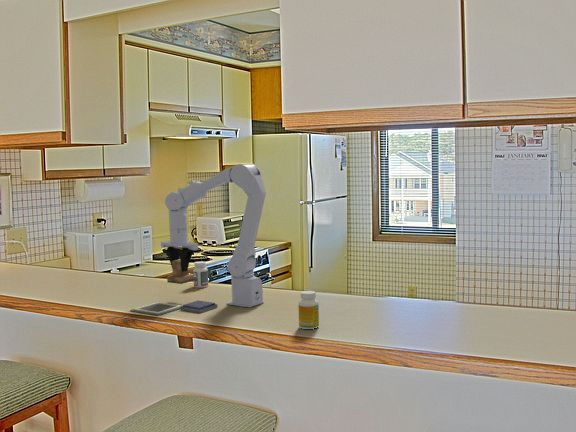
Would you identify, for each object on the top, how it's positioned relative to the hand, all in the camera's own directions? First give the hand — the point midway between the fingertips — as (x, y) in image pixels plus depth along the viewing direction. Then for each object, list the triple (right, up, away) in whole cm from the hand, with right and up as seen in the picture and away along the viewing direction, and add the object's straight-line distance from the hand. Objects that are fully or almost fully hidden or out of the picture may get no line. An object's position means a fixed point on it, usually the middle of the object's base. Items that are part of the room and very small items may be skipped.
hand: (180, 270), depth 206 cm
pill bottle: (+4, -8, +23) cm, 24 cm away
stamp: (0, -4, 0) cm, 4 cm away
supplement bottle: (+41, -13, -35) cm, 56 cm away
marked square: (-5, -11, -11) cm, 16 cm away
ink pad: (+8, -11, -11) cm, 17 cm away
